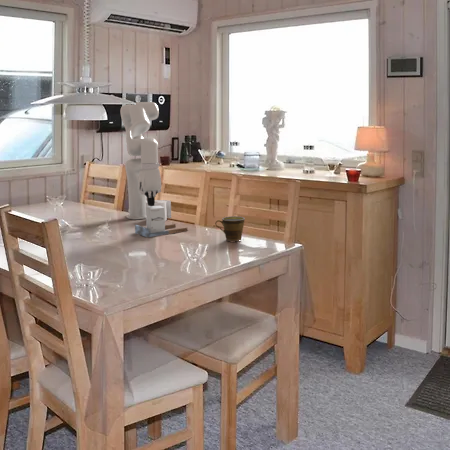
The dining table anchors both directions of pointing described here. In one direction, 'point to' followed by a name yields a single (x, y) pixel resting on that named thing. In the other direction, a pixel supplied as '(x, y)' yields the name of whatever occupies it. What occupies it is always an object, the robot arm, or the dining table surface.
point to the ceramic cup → (232, 227)
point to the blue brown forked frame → (145, 232)
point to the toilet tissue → (166, 205)
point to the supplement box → (155, 218)
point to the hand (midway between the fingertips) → (151, 205)
